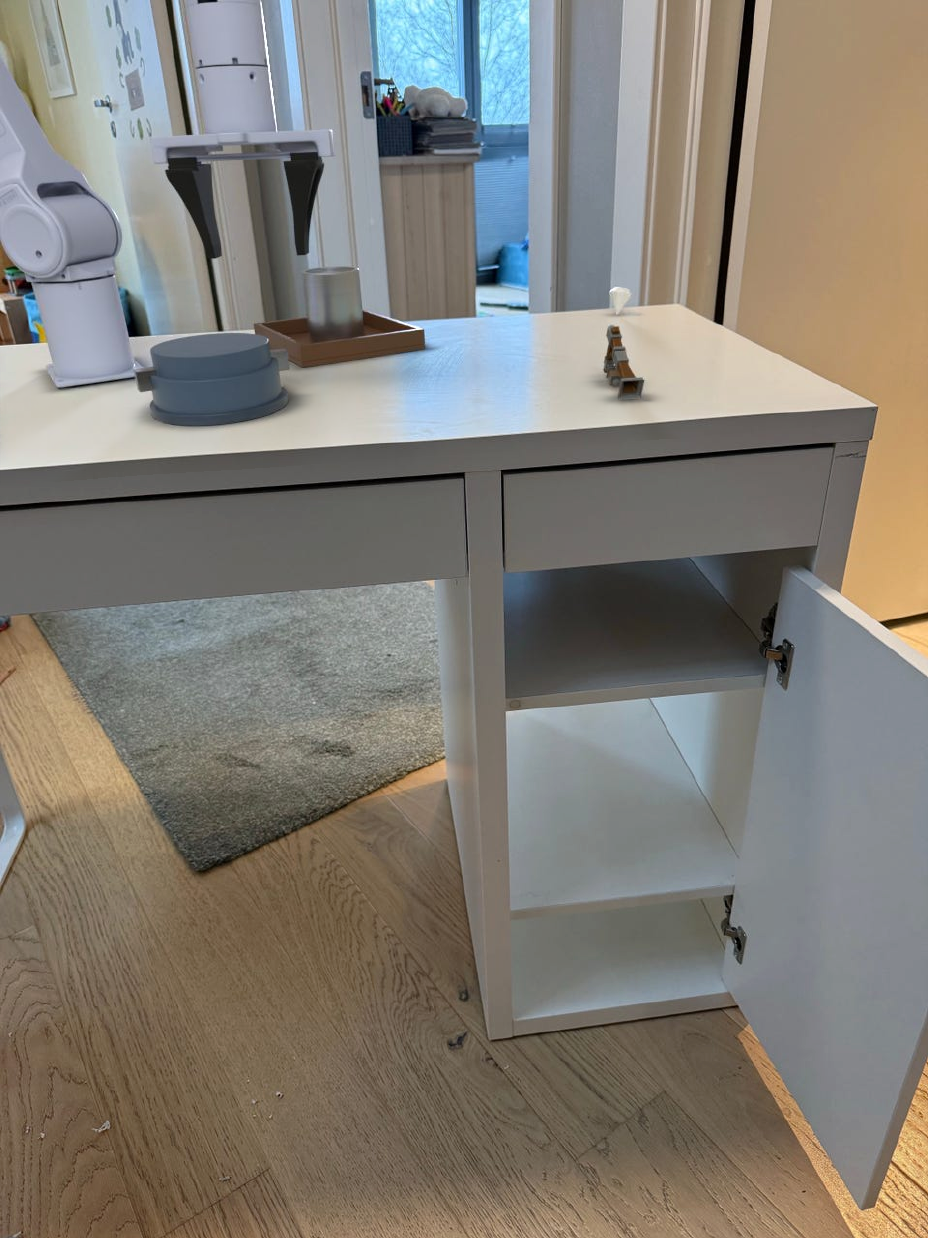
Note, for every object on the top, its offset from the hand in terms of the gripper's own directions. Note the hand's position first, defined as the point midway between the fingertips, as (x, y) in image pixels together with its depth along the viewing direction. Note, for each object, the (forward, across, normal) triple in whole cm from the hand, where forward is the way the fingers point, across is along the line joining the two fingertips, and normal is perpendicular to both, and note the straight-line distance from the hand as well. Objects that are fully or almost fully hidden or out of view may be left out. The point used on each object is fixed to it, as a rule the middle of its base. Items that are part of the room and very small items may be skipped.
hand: (259, 255), depth 74 cm
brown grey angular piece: (+11, +30, -8) cm, 33 cm away
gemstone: (+11, +35, +26) cm, 44 cm away
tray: (+10, +4, +14) cm, 18 cm away
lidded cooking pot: (+10, -3, -10) cm, 14 cm away
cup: (+10, +4, +14) cm, 17 cm away
